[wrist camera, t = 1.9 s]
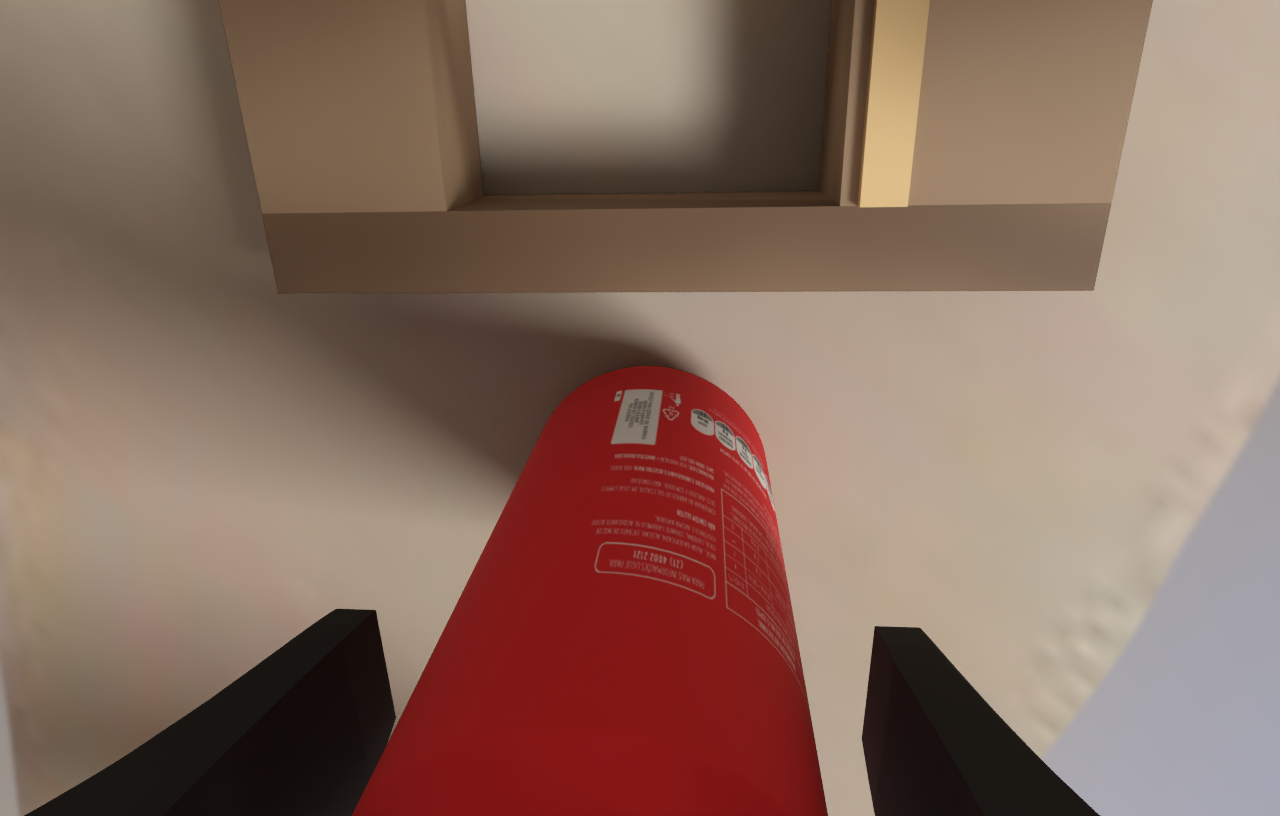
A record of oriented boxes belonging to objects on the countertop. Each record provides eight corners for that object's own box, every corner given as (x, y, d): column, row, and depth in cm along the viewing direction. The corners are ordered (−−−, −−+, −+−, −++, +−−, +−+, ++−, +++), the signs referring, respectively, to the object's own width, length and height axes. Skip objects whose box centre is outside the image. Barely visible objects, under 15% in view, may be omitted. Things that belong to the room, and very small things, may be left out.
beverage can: (795, 506, 18) (938, 1137, 7) (603, 573, 19) (466, 1207, 8) (711, 314, 17) (725, 739, 5) (507, 400, 18) (177, 897, 7)
